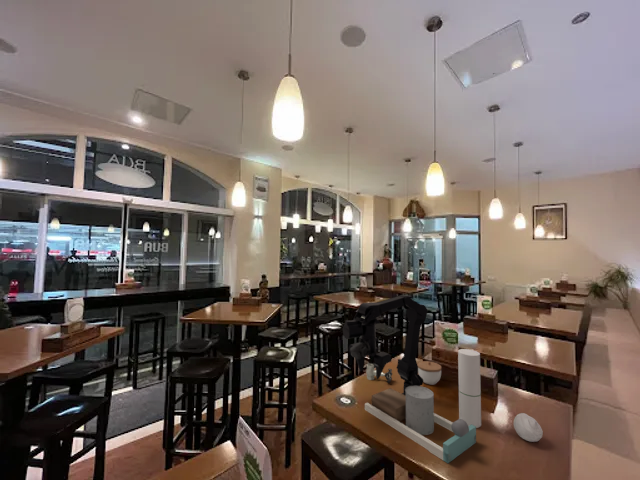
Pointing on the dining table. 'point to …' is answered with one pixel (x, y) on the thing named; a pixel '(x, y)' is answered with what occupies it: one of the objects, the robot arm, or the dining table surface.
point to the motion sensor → (527, 427)
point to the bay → (451, 447)
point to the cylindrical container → (469, 387)
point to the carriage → (391, 403)
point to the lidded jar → (429, 372)
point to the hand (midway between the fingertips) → (369, 374)
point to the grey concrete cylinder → (420, 409)
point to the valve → (372, 372)
